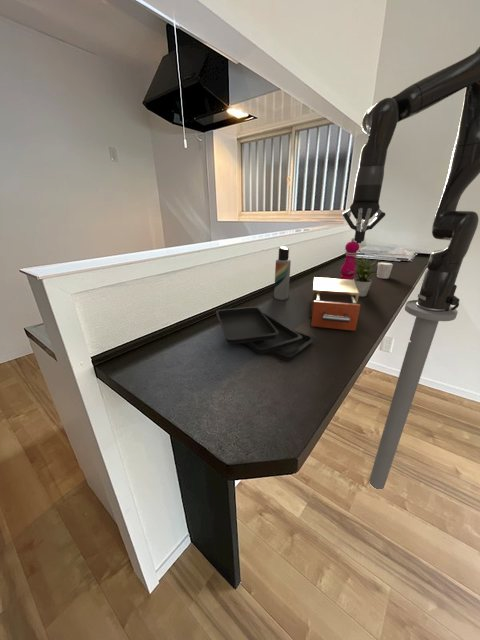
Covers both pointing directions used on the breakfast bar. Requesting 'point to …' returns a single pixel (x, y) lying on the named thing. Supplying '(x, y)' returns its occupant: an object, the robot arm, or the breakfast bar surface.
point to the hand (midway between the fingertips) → (358, 242)
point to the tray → (262, 332)
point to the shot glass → (384, 269)
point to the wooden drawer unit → (335, 311)
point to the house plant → (363, 276)
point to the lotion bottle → (282, 274)
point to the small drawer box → (333, 288)
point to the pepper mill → (351, 252)
